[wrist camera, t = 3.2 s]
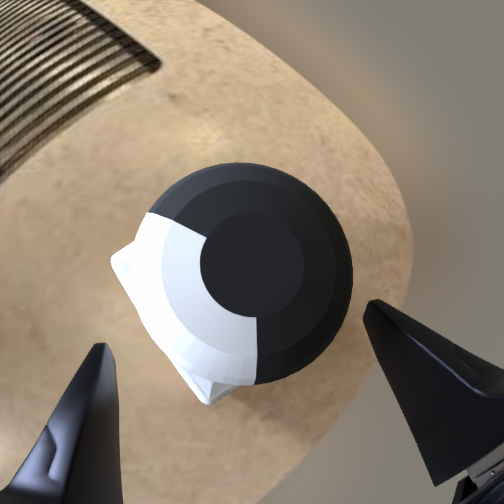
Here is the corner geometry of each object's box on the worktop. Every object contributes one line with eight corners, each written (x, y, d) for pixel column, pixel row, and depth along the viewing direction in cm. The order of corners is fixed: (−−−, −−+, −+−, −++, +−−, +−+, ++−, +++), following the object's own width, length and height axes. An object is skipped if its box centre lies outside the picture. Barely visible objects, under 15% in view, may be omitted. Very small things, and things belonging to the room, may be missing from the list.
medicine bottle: (232, 218, 20) (282, 99, 9) (295, 311, 20) (422, 298, 8) (136, 279, 18) (57, 220, 7) (201, 377, 18) (216, 465, 6)
